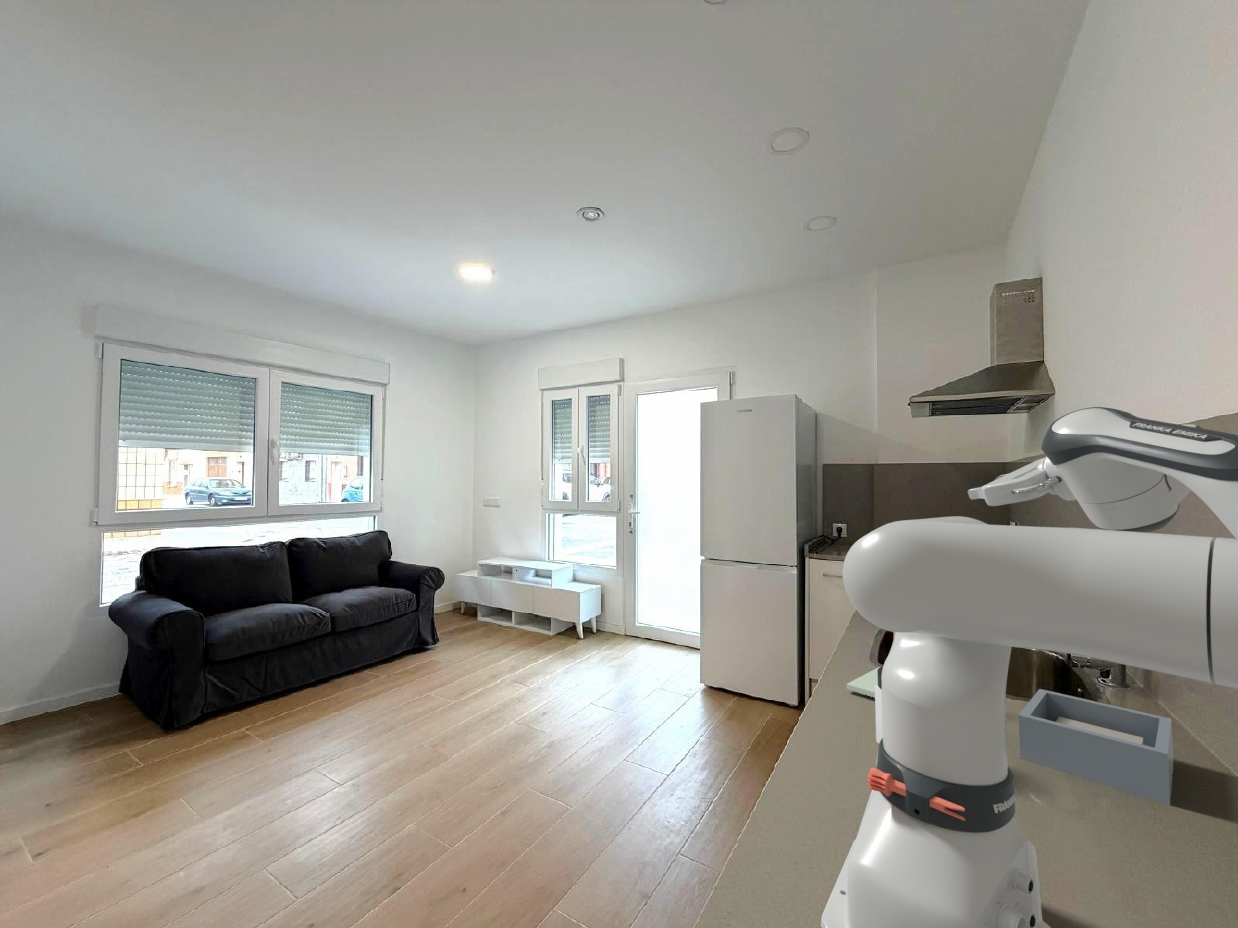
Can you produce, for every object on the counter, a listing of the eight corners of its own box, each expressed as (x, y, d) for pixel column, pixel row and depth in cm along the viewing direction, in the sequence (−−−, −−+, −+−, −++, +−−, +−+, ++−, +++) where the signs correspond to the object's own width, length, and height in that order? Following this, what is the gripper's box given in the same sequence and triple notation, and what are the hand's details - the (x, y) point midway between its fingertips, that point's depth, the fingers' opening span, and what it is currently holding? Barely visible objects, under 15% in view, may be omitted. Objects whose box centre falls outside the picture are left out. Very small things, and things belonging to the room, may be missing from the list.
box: (1170, 807, 68) (1167, 754, 69) (1020, 760, 80) (1018, 714, 81) (1173, 765, 79) (1171, 718, 79) (1040, 728, 91) (1039, 688, 91)
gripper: (1050, 508, 78) (959, 519, 90) (1107, 475, 87) (1018, 489, 99) (1034, 469, 79) (946, 485, 91) (1093, 440, 88) (1006, 458, 100)
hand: (984, 487), depth 95 cm, fingers open, 8 cm apart
